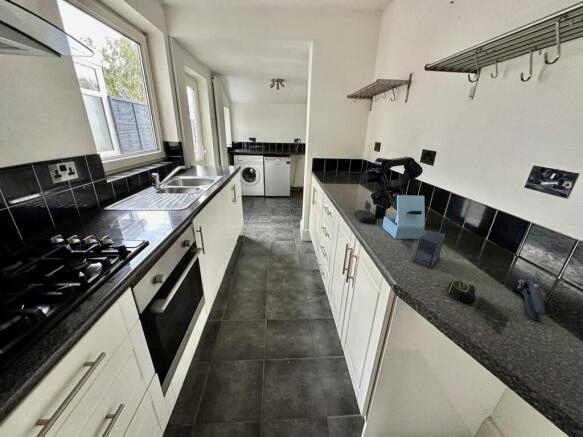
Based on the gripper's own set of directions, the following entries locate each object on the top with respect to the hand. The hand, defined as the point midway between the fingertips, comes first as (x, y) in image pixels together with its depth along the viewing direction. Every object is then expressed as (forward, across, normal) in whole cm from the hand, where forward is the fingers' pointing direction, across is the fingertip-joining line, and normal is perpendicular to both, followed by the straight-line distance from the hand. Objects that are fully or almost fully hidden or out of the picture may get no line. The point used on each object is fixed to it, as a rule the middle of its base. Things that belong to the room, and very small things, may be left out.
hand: (394, 207), depth 117 cm
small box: (+29, -14, -14) cm, 35 cm away
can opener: (+49, -8, -34) cm, 61 cm away
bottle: (+11, 0, +2) cm, 11 cm away
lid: (+6, -3, -10) cm, 12 cm away
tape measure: (+42, -24, -27) cm, 55 cm away
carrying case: (-2, -5, +16) cm, 17 cm away
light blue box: (+13, -2, +2) cm, 13 cm away
